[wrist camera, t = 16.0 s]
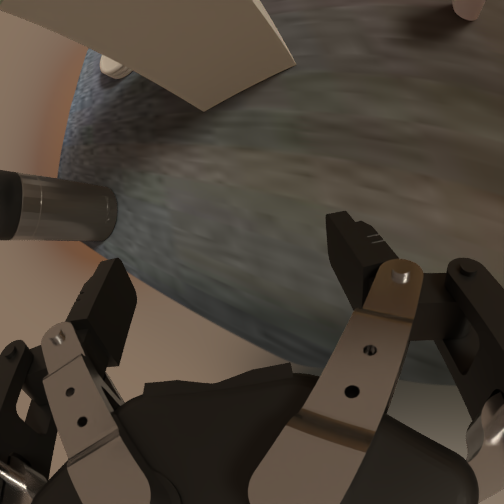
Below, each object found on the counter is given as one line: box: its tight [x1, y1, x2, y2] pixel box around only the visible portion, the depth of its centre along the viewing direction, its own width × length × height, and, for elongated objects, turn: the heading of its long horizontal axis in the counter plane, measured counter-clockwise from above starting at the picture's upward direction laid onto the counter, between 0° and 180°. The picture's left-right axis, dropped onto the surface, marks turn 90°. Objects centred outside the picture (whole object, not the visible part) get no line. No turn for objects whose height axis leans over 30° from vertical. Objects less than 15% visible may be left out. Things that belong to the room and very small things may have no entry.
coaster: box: [100, 55, 133, 79], centre depth 45 cm, size 10×10×4 cm
